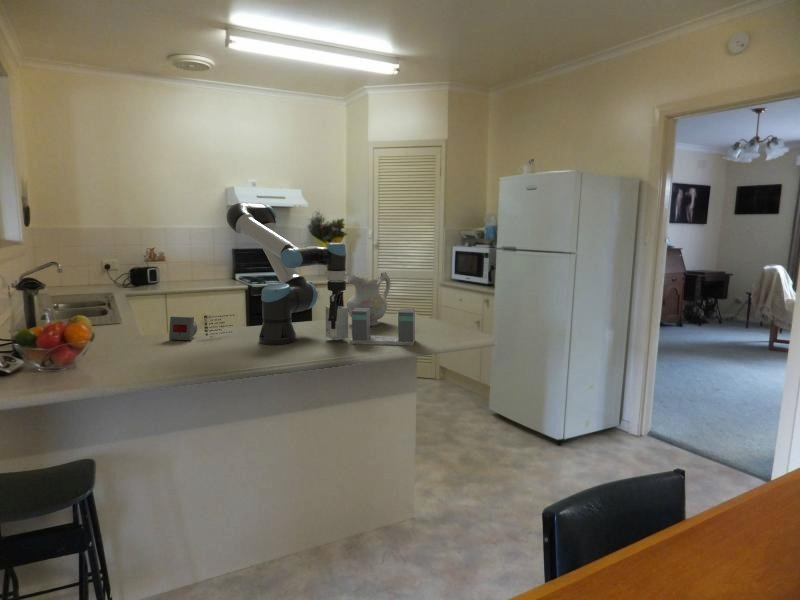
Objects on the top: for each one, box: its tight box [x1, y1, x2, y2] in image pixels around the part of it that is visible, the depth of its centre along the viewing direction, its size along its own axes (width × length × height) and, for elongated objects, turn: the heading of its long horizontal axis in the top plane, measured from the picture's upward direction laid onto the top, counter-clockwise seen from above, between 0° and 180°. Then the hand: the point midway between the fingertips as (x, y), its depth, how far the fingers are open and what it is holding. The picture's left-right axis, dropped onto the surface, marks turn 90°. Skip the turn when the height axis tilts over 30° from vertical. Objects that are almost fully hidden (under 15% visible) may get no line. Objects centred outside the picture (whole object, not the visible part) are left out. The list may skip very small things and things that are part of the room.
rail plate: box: [349, 335, 416, 347], centre depth 212 cm, size 26×9×2 cm, turn 83°
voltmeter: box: [168, 314, 236, 341], centre depth 220 cm, size 26×11×10 cm, turn 116°
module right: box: [397, 308, 416, 342], centre depth 210 cm, size 6×8×12 cm
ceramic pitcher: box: [346, 272, 391, 327], centre depth 247 cm, size 22×20×25 cm
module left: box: [351, 308, 371, 340], centre depth 212 cm, size 6×8×12 cm
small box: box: [325, 305, 349, 341], centre depth 214 cm, size 8×6×13 cm
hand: (336, 333), depth 215 cm, fingers closed on small box, 10 cm apart
